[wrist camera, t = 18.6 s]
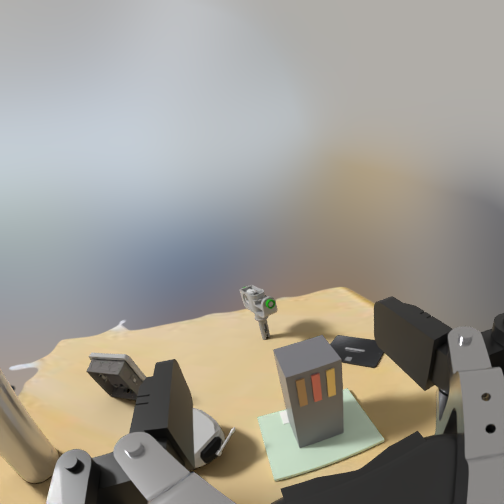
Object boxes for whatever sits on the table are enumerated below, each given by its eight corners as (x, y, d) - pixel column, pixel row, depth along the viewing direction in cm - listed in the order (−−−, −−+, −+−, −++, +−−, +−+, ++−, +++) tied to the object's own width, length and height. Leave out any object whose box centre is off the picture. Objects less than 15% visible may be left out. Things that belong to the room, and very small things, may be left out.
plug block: (299, 449, 27) (285, 379, 24) (288, 421, 32) (273, 349, 29) (344, 433, 27) (342, 360, 24) (329, 407, 32) (322, 334, 29)
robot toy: (171, 523, 19) (246, 441, 30) (151, 510, 17) (236, 421, 29) (113, 473, 26) (181, 412, 37) (94, 455, 25) (169, 392, 36)
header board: (275, 481, 23) (257, 434, 21) (257, 419, 34) (241, 367, 32) (383, 441, 25) (391, 386, 22) (347, 390, 35) (344, 336, 33)
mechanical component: (273, 350, 50) (262, 302, 48) (248, 331, 59) (237, 288, 57) (286, 343, 51) (277, 295, 49) (260, 326, 60) (250, 283, 58)
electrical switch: (155, 388, 44) (133, 347, 42) (144, 408, 40) (118, 368, 37) (116, 384, 46) (94, 347, 43) (104, 402, 42) (79, 364, 39)
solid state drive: (375, 370, 38) (375, 366, 38) (319, 359, 45) (319, 356, 45) (388, 344, 43) (388, 341, 43) (337, 337, 50) (337, 334, 50)
